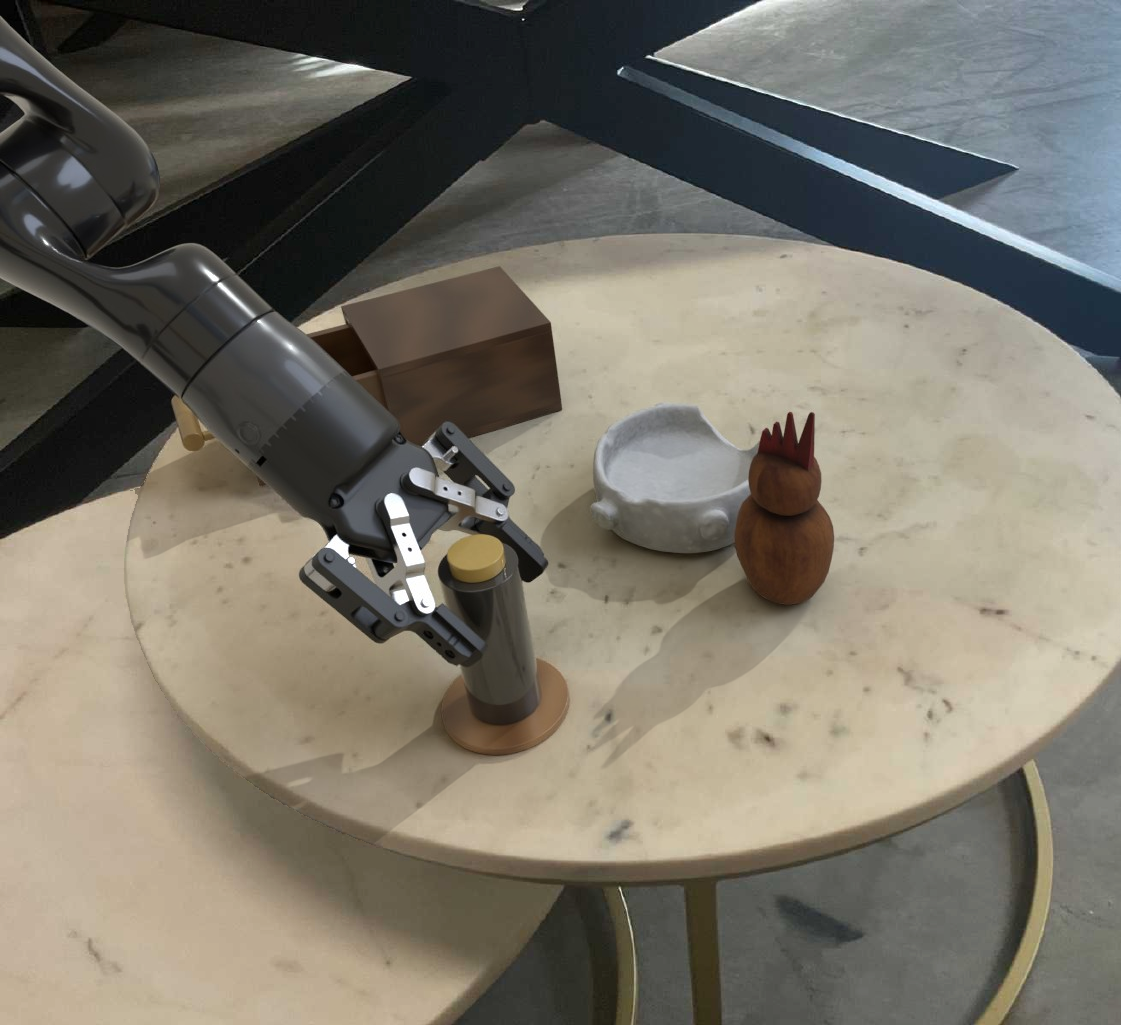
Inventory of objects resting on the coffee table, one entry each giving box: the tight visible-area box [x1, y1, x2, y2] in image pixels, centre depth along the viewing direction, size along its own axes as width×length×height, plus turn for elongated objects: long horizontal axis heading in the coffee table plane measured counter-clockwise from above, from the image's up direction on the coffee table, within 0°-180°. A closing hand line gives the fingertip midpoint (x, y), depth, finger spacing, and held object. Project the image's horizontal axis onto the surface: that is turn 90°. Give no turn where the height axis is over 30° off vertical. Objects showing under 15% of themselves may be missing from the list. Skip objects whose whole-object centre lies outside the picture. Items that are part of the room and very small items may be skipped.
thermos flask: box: [437, 534, 542, 725], centre depth 68 cm, size 5×5×12 cm
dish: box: [589, 401, 760, 554], centre depth 86 cm, size 14×14×5 cm
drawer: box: [171, 323, 387, 488], centre depth 94 cm, size 18×11×7 cm, turn 117°
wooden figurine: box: [734, 411, 835, 606], centre depth 75 cm, size 7×6×15 cm
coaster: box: [440, 657, 571, 756], centre depth 72 cm, size 8×8×1 cm
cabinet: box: [340, 265, 563, 447], centre depth 99 cm, size 15×13×9 cm
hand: (509, 614), depth 66 cm, fingers open, 7 cm apart
